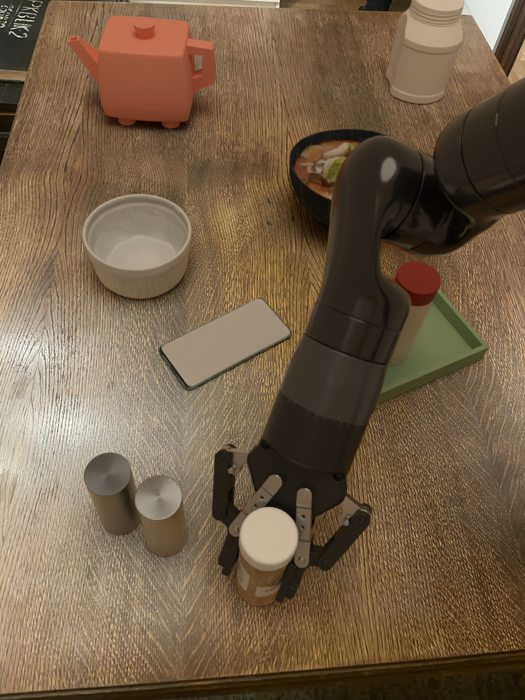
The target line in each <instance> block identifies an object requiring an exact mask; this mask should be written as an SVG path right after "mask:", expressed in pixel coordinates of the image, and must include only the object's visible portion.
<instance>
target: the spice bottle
mask: <svg viewBox="0 0 525 700" xmlns="http://www.w3.org/2000/svg"><path fill="white" fill-rule="evenodd" d="M393 280H394V281H396V282H397V283H398V284H399V285H400V286H401V287H402V288H403V289H405V290H406V291H407V293H408V294H409V296H410V299H411V308H410V312H409V315H408V318H407V321H406V323H405V326H404V328H403V330H402V332H401V336H400V338H399V341H398V343H397V346H396V348H395V350H394V353H393V355H392V358H391V360H390V363H388V365H392V366H394V365H399V364H402V363H403V362H404V361H405V360H406V359H407V358H408V355H409V353H410V351H411V349H412V347H413V344H414V342H415V340H416V338H417V336H418V333H419V331H420V329H421V327H422V325H423V322H424V320H425V318H426V316H427V314H428V312H429V309H430V307H431V305H432V303H433V301H434V298H435V296H436V294H437V292H438V290H439V289H440V287H441V285H442V278H441V276H440V273H439V271H437V270H436V269H435V268H434V267H433V266H432V265H430V264H428V263H425V262H422V261H417V260H416V261H413V260H412V261H407V262H405V263H403V264H402V265H400V266H399V267H398V269H397V271H396V273H395V277H394V279H393Z"/></svg>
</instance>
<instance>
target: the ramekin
mask: <svg viewBox="0 0 525 700" xmlns="http://www.w3.org/2000/svg"><path fill="white" fill-rule="evenodd" d="M81 240H82V245H83V249H84V251H85V253H86V255H87V257H88V258H89V259H90V261H91V264H92V266H93V269H94V272H95V274H96V276H97V277H98V279H99V281H100V283H102V285H103V286H104V287H105V288H107V289H108V290H110V291H111V292H113V293H115V294H116V295H119V296H122V297H124V298H129V299H130V298H131V299H137V300H142V299H151V298H155V297H158V296H162V295H163V294H166V293H167V292H169V291H170V290H172V289H174V288H175V287H176V286H177V285H178V284H179V283H180V281H182V279H183V277H184V276H185V273H186V272H187V268H188V264H189V263H188V262H189V256H190V248H191V246H192V243H193V242H192V241H193V231H192V224H191V221H190V219H189V217H188V215H187V214H186V212H185V211H184V210H183V209H182V208H181V207H180V206H179V205H178V204H176V203H175V202H173V201H171V200H169V199H167V198H164V197H161V196H158V195H153V194H147V193H134V194H133V193H132V194H126V195H121V196H117V197H115V198H112V199H109V200H107V201H105V202H103V203H101V204H100V205H98V206H97V207H96V208H95V209H93V211H92V212H91V213H89V215H88V216H87V217H86V219H85V221H84V223H83V226H82V230H81Z"/></svg>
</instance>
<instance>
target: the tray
mask: <svg viewBox="0 0 525 700" xmlns="http://www.w3.org/2000/svg"><path fill="white" fill-rule="evenodd" d="M489 348H490V346H489V345H488V344H487V342H486V341H485V340H484V338H482V337H481V335H480V334H479V333H478V332H477V331H476V330H475V328H474V327H473V326H472V325H471V323H470V322H469V321H468V320H467V319H466V318H465V316H463V314H462V313H461V312H460V311H459V309H457V308H456V306H455V305H454V304H453V302H451V300H450V299H449V298H448V297H447V295H446V294H445V293H444V292H443V291H442V290H441V289H440V288H439V290H438V292H437V294H436V296H435V298H434V301H433V303H432V305H431V307H430V309H429V312H428V314H427V316H426V318H425V320H424V322H423V325H422V327H421V329H420V331H419V333H418V336H417V338H416V340H415V342H414V344H413V347H412V349H411V351H410V353H409V355H408V358H407V359H406V360H405V361H404V362H403V363H402V364H399V365H394V366H392V365H388V368H387V371H386V375H385V379H384V383H383V387H382V390H381V393H380V396H379V399H378V401H377V403H376V406H377V405H379V404H382V403H384V402H386V401H389V400H392V399H393V398H395V397H398V396H400V395H402V394H405V393H407V392H409V391H412V390H414V389H416V388H418V387H421V386H424V385H425V384H428V383H431V382H432V381H435V380H436V379H439V378H442V377H444V376H447V375H449V374H451V373H453V372H455V371H458V370H460V369H463V368H464V367H467V366H469V365H472V364H474V363H476V362H478V361H480V360H482V359H483V358H484V356H485V355H486V353H487V351H488V350H489Z"/></svg>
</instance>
